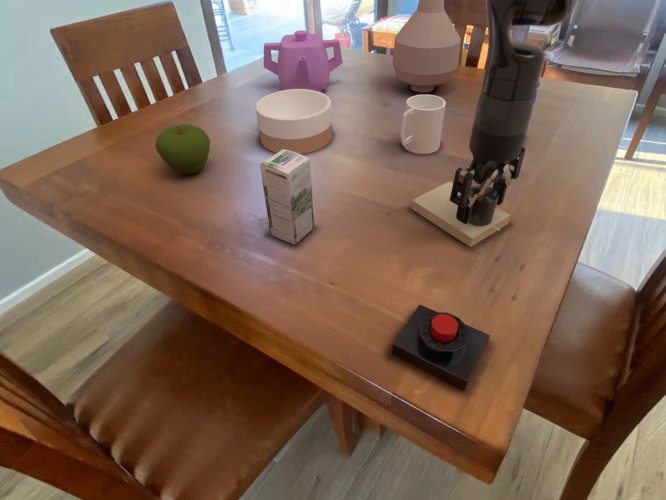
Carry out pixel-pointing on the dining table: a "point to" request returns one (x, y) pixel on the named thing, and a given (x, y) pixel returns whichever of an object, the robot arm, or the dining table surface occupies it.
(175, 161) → the apple
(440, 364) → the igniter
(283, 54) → the teapot
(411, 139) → the cup
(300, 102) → the bowl
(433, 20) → the vase
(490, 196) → the hob knob
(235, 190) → the dining table surface
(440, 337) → the button
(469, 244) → the hob panel
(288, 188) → the syrup box
